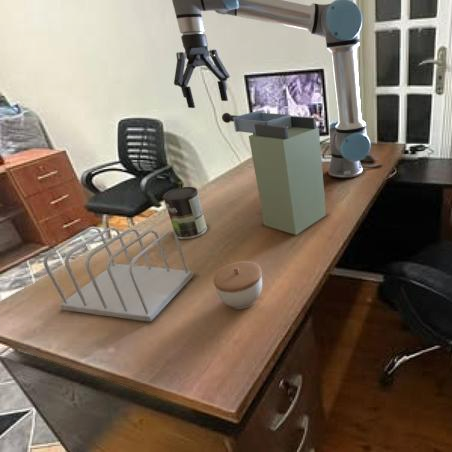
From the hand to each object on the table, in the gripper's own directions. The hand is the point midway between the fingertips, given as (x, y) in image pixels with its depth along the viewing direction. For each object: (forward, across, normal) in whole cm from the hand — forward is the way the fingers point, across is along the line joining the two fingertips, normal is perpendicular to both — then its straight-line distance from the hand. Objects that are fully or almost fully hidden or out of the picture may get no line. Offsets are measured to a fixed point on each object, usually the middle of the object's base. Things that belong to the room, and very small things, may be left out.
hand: (208, 104), depth 120 cm
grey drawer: (+7, 0, +19) cm, 21 cm away
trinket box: (+37, +38, +51) cm, 73 cm away
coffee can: (+37, +23, +8) cm, 44 cm away
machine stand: (+37, 0, +34) cm, 50 cm away
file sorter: (+37, +51, +24) cm, 67 cm away
